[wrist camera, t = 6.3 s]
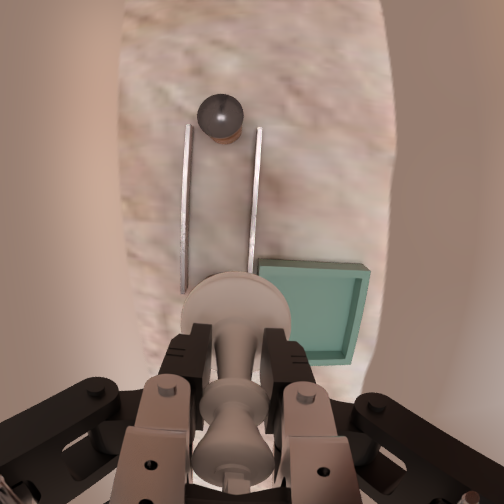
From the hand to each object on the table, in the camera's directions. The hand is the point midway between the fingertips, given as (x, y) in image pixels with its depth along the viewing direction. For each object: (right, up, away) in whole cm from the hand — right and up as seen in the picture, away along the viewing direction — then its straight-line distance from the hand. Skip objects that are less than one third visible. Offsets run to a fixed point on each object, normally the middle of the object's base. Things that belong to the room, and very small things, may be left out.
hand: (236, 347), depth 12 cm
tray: (+6, -3, +21) cm, 22 cm away
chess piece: (0, +1, +2) cm, 2 cm away
